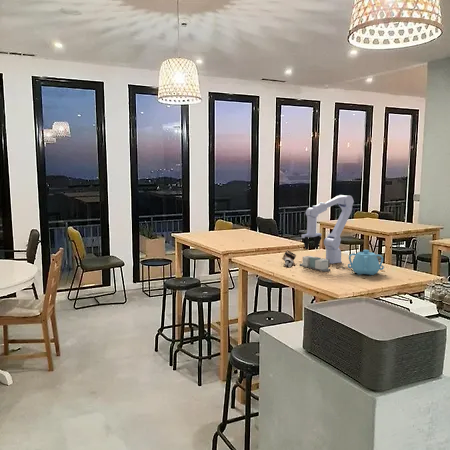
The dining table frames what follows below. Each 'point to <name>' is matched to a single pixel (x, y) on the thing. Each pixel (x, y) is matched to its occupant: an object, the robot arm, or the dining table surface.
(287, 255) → the figurine
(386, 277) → the dining table surface
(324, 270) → the rail
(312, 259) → the block
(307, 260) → the mounted module
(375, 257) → the decorative pot
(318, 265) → the block
